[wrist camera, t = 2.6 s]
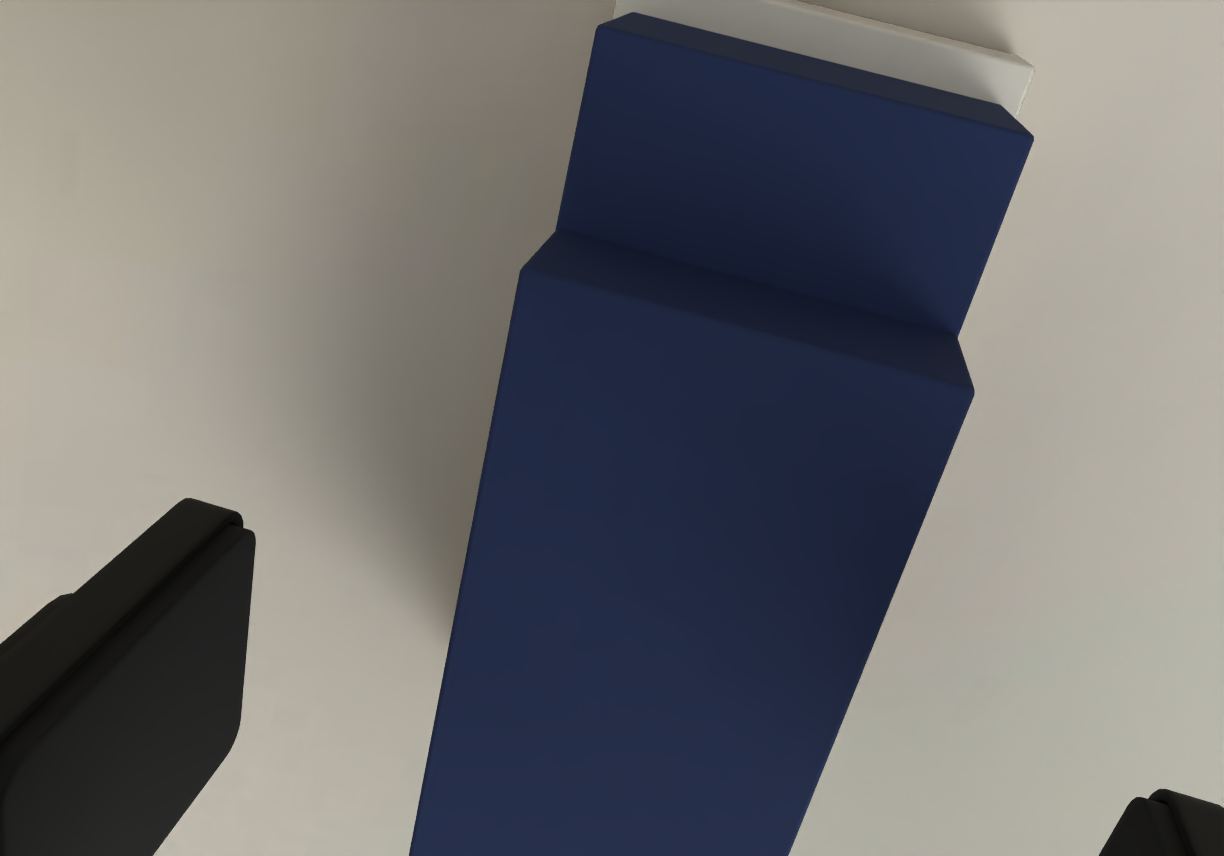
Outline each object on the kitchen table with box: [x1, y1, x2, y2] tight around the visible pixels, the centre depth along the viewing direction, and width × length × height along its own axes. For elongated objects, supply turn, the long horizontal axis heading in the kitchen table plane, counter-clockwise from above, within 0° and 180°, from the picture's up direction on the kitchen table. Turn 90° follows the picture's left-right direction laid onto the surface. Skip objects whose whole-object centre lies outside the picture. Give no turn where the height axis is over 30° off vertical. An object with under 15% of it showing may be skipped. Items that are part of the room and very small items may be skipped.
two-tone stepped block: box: [409, 0, 1035, 856], centre depth 14 cm, size 5×12×5 cm, turn 167°
